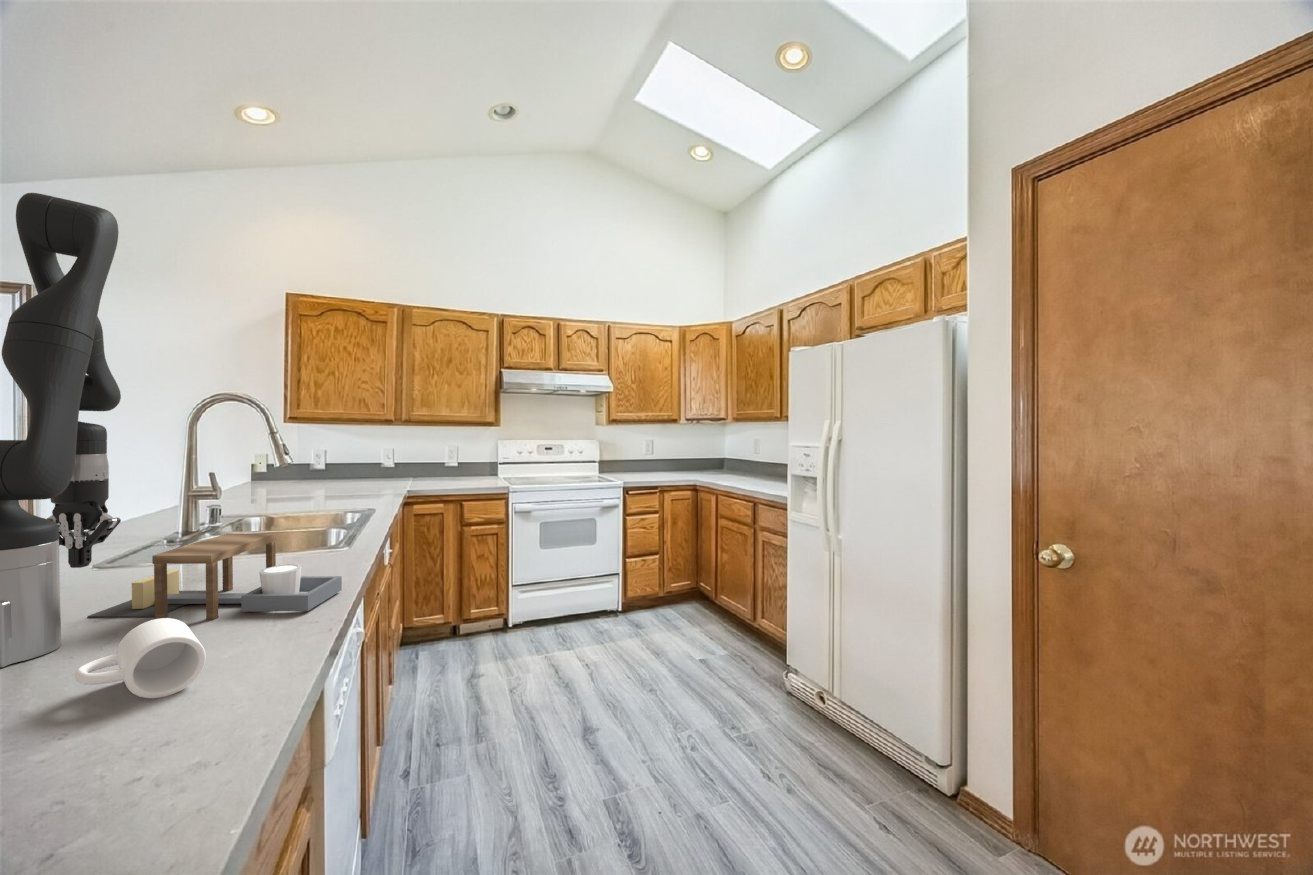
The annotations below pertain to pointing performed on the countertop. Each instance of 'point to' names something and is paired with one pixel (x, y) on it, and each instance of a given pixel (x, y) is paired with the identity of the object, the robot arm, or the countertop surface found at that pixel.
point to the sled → (243, 594)
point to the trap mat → (127, 610)
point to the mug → (151, 660)
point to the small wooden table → (208, 565)
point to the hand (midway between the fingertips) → (80, 566)
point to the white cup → (281, 579)
